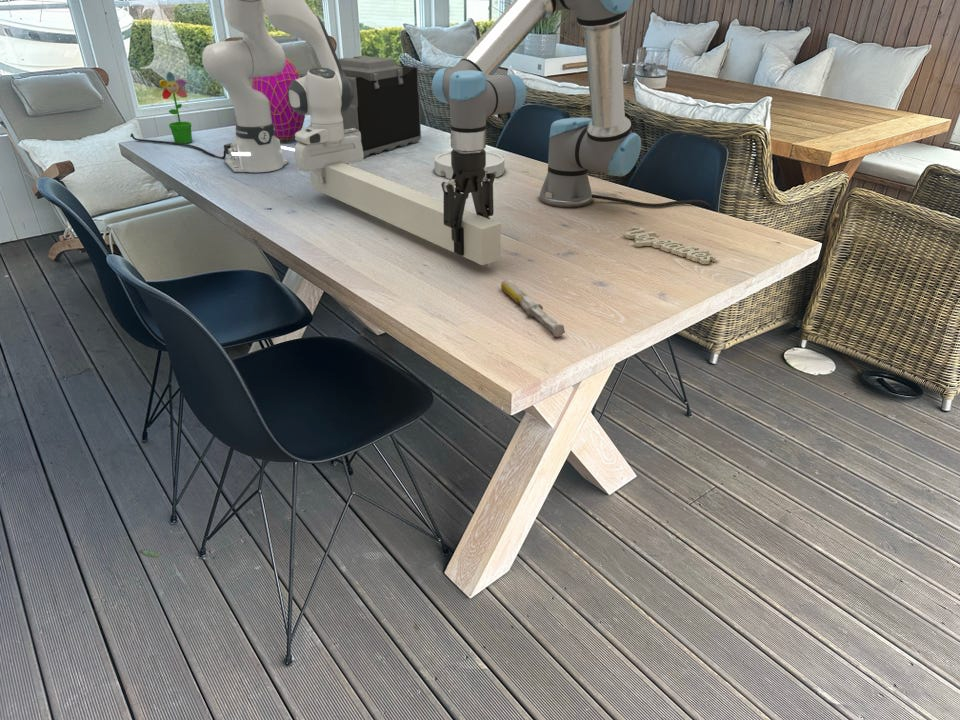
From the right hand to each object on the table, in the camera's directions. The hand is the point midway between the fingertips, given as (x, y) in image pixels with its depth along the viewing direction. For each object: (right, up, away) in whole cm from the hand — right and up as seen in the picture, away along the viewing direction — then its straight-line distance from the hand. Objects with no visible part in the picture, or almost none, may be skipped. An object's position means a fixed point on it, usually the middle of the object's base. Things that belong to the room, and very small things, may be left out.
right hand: (469, 250), depth 159 cm
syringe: (+13, -16, -20) cm, 29 cm away
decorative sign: (+48, +2, +11) cm, 50 cm away
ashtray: (-1, +38, +70) cm, 79 cm away
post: (-20, +11, +20) cm, 30 cm away
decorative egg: (-73, +59, +105) cm, 141 cm away
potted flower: (-110, +57, +101) cm, 160 cm away
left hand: (-40, +26, +38) cm, 61 cm away
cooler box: (-38, +55, +99) cm, 119 cm away
